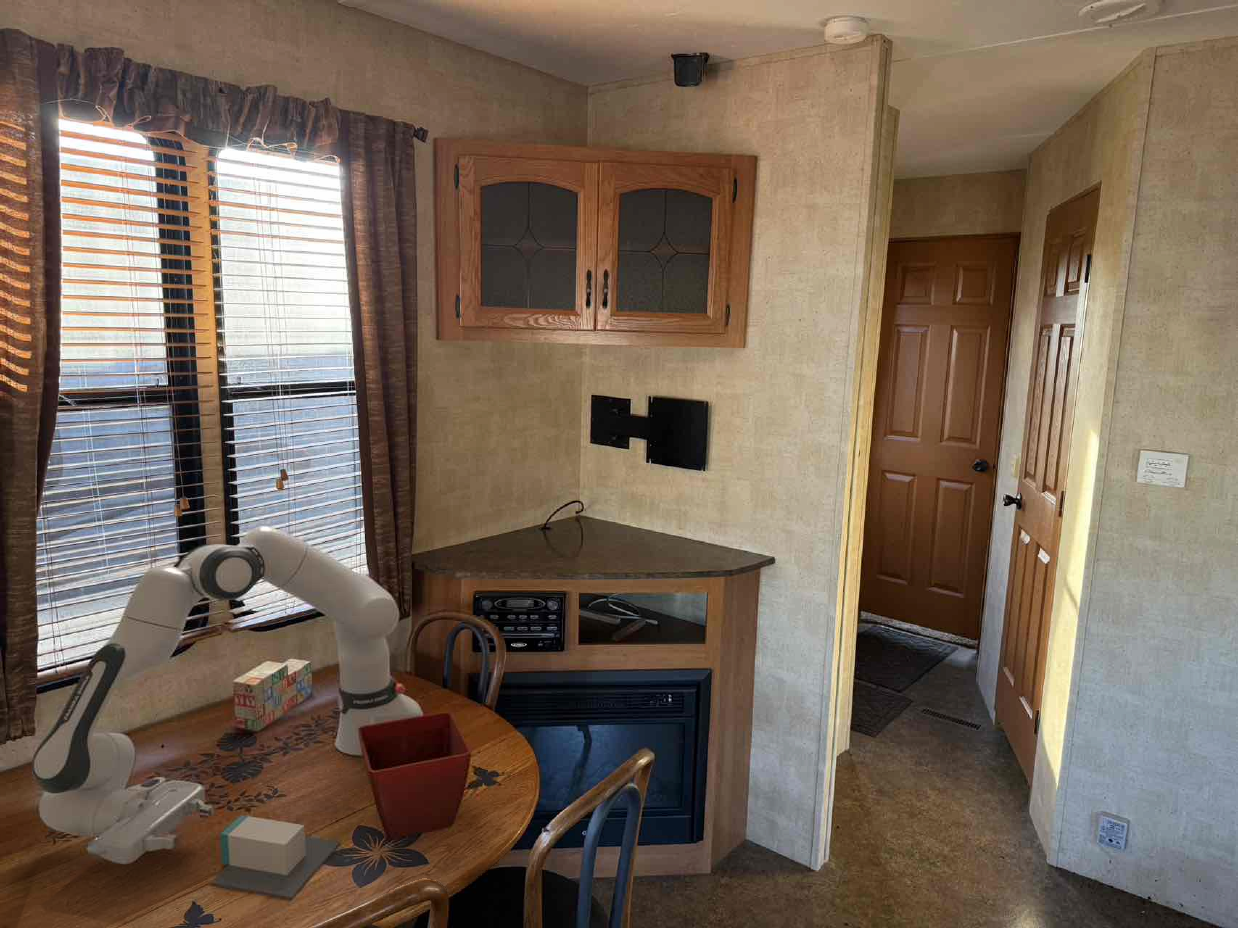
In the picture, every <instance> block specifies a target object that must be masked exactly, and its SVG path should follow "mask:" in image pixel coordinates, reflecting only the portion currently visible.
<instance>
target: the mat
mask: <svg viewBox="0 0 1238 928" xmlns="http://www.w3.org/2000/svg"><path fill="white" fill-rule="evenodd" d="M340 845H341V841H338V840H337V841H336V840H330V839H326V838H318V837H313V836H306V835H305V850H306V855H305V856H304V857H303V858H302V859H301V860H300V861H299V863H298V864H297V865H296V866H295V867H294V868H293V869H292V870H291V871H290V872H289V873H288V874H287V875H283V874H277V873H271V872H266V871H260V870H254V869H249V868H243V867H237V866H232V865H226V866H225V867H224V868H223V869H222V870H221V871H220V872H219V873H218V874H217V875H216V876H215V877H214V878H213V879H211V880H210V881H209V885H210V886H213V887H218V888H219V887H220V888H225V889H231V890H236V891H242V892H249V893H253V894H257V895H258V894H259V895H263V896H264V895H265V896H269V897H275V898H279V899H280V898H281V899H285V900H286V899H287V900H290V901H291V900H293V899H294V898H295V896H297V894H298V893H299V892H300V891H301V890H302V889H303V888H304V886H305V885H307V883H308V882H309V881H310V880H311V878H312V877H313V876H314V875H315V874H316V873H317V872H318V870H319V869H320V868H321V867H322V866H323V865H324V864H325V862H327V860H328V859H329V858H330V857H331V856H332V854H333V853H334V852H335V851H336V850H337V849H338V848H339V847H340Z"/></svg>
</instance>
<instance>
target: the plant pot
mask: <svg viewBox="0 0 1238 928" xmlns="http://www.w3.org/2000/svg"><path fill="white" fill-rule="evenodd" d="M358 734H359V740H360V745H361V750H362V754H363V755H362V757H363V762H364V765H365V770H366V775H367V778H368V780H369V785H370V787H371V791H372V796H373V799H374V804H375V807H376V810H377V815H378V817H379V820H380V823H381V826H382V828H383V831H384V834H385V837H386V838H387V840H397V839H402V838H406V837H410V836H414V835H415V836H417V835H420V834H423V833H428V832H433V831H437V830H443V829H446V828H451V827H452V826H453V825H454V823H455V820H456V818H457V815H458V812H459V810H460V806H461V803H462V800H463V797H464V793H465V790H466V786H467V782H468V776H469V770H470V764H471V757H472V749H471V747H470V746H469V744H468V742H467V740H466V738H465V737H464V734H463V732H462V731H461V729H460V727H459V725H458V723H457V721H456V717H454V714H453V713H452V712H450V711H443V712H436V713H430V714H423V716H417V717H411V718H406V719H400V720H394V721H389V722H383V723H377V724H371V725H365V726H361V727H359V728H358Z"/></svg>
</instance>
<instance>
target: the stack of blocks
mask: <svg viewBox="0 0 1238 928" xmlns="http://www.w3.org/2000/svg"><path fill="white" fill-rule="evenodd" d="M311 663H312V662H311V661H309V660H304V659H294V658H289V659H288V660H286V661H284V662H276V661H275V662H274V661H268V660H267V661H265V662H263V663H261V664H260V665H258V666H257V667H254V668H253V669H251V670H249V671H247V672H246V673H245V674H242V675H241V676H238V677H237V678H235V679H234V680H232V685H233V686H232V687H233V704H234V720H235V728H236V729H241V730H247V731H252V732H258V731H261V730H262V729H263V728H265V727H266V726H268V725H270V724H271V723H273V722H274V721H276V720H277V719H279V718H280V717H282V716H284V714H285V713H287V712H289V711H290V710H291V709H293V708H294V707H295V706H297V705H299V704H301V703H302V702H303V701H305V700H306V699H308V698H310V697H311V696H312V695H313V677H312V676H313V675H312V667H311V666H312V664H311Z"/></svg>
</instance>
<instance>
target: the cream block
mask: <svg viewBox="0 0 1238 928" xmlns="http://www.w3.org/2000/svg"><path fill="white" fill-rule="evenodd" d="M305 836H306V834H305V825H304V824H298V823H291V822H287V821H279V820H273V819H267V818H260V817H255V816H250V815H244V814H241V815H239V817H237V818H236V820H234V821H233V822H232V823H231V824H230V825H229V826H228V827H226V828H225V829H224V830H223V831H222V832H221V833H220V848H221V861H222V864H221V865H226V866H227V865H232V866H237V867H243V868H249V869H254V870H260V871H266V872H271V873H277V874H283V875H287V874H288V873H289V872H290V871H291V870H292V869H293V868H294V867H295V866H296V865H297V864H298V863H299V861H300V860H301V859H302V858H303V857H304V856H305V855H306V850H305Z"/></svg>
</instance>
